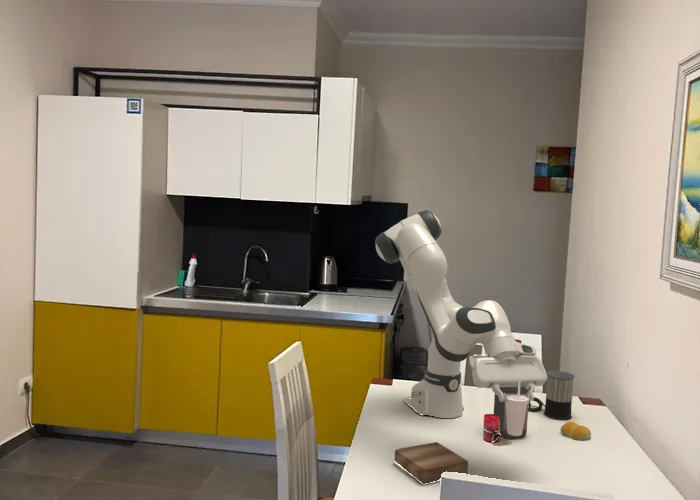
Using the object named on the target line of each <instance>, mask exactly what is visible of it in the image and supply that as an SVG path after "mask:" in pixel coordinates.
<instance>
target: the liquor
mask: <svg viewBox="0 0 700 500" xmlns="http://www.w3.org/2000/svg"><path fill="white" fill-rule="evenodd" d="M514 339H515V341H516V342H519V343H521V344H522V340H520V339H516V338H514ZM499 389H500V390H501V391H502V392H503V393H506V394H518V387H499ZM528 391H529V389H528V390H527V389H526V386H521V387H520V395H524V396H525V395H526V394H527V392H528ZM493 400H494V401H493V402H494V403H493V415H496V416H499V417H500V434H501V436H500V438H502V439H505V440H506V439H507V440H517V439H524V438H525V437H526V435H527V433H528V420H529V419H528V416H529V410H528V405H529V403H528V404H527V409H526V415H525V420H524V425H523V431H522V435H520V436H513V435H510V434H508V433H507V421H506V407H505V402H500V401H499V397H498V396H497V395H496V394H495V393H494V399H493Z"/></svg>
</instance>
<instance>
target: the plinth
mask: <svg viewBox="0 0 700 500" xmlns="http://www.w3.org/2000/svg"><path fill="white" fill-rule="evenodd" d="M394 461H396V462H397V463H398V464H400V465H401V466H402V467H403V468H404V469H406V470H407V471H408V472H409V473H411V474H412V475H413V476H414V477H416V478H417V479H418V480H419V481H421V482H422V483H423V484H425V483H430V482H433V481H437V480H439V479H440V478H441V474H442V473H443V472H446V471H447V472H458V473H466V474H467V475H468V471H469V460H467V459H466V458H464V457H462V456H460V455H459V454H457V453H456V452H454V451H452V450H451V449H449V448H448V447H446V446H444V445H442V444H441V443H440V442H437V441H435V442H429V443H424V444H419V445H418V444H417V445H413V446H408V447H401V448H396V449H394ZM419 481H418V482H419ZM423 484H422V485H423Z"/></svg>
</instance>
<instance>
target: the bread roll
mask: <svg viewBox="0 0 700 500" xmlns="http://www.w3.org/2000/svg"><path fill="white" fill-rule="evenodd" d="M559 431H560V432H561V434H562V435H563V436H564V437H567V438H570V439H573V440H576V441H578V440H579V441H588V440H590V439H591V436H592V432H591V430H590V428H589V427H587V426H585V425H581V424H580V425H579V424H578V423H576V422H574V421H568V422H565V423H564V424H562V425H561V426H560V428H559Z"/></svg>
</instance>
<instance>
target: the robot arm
mask: <svg viewBox="0 0 700 500" xmlns="http://www.w3.org/2000/svg"><path fill="white" fill-rule="evenodd" d="M442 233H443V232H442V225H441V222H440V219H439V218H438V217H437V216H436V215H435V214H434V213H433V212H432V211H431V210H428V209H425V210H422V211H418V212H417V213H416V214H413V215H411V216H408V217H406V218H404V219H402V220H400V221H399V222H397V223H396V224H395V225H394V224H393V226H391V227H390V228H389V229H387V230H385V231H382V232H381V233H380V234H378V236H376V237H375V242H374V243H375V250H376V253H377V255H378V256H379V257H380V259H382V260H383V261H384V262H385V263H387V264H395V263H398V262H400V263H401V266H402V267H403V270H404V272H405V274H406V276H407V278H408V280H409V282H410V283H411V285H412V288H413V289H414V291H415V293H416V295H417V299H418V301H419V304H420V306H421V308H422V311H423V312H424V315H425V317H426V320H427V321H428V324H429V327H430V329H431V331H432V339H431V342H430V345H429V346H428V352H427V353H428V355H427V356H428V357H427V369H422V371H423V372H422V373H423V374H424V376H423V379H421V380H420V381H418V382H417V383H416V384H414V385H413V386H412V387H411V392H410V396H407V397H405V398H404V399H403V401H404V400H405V401H406V402H407V403H408V404H409V405H410V406H412V407H413V408H414V409H415V410H416V411H417V412H418V413H420V414H423V415H429V416H428V417H432V416H434V417H433V418H438V417H439V419H453V418H458V417H459V418H460V417H461V416H462V415H463V411H464V410H465V406H464V405H463V391H462V390H463V389H462V385H461V383H462V373H461V362H463V361H464V360H466V359H467V358H468V356H469V355H470V353H471V351H472V350H473V349H474V348H475V346H476V345H477V344H481V345H482V346H483V349H484V353H482V354H480V353H479V354H477V353H474V354H472V355H471V356H470V357H469V358H468V363H469V366H470V368H471V374H472V381H473V384H474V386H475V387H476V388H477V389H478V388H479V389H481V388H484V389H485V388H491V390H492V392H493V393H494V395H495V394H496V395H497V396H498V397H499V401H500V402H506V400H507V396H506V393H503V392H502V391H501V390H500V389H499V387H518V381H521V383H520V387H521V386H526V389H527V390H528V389H529V391H528V392H527V394H526V395H525V396H526V397H528V398H529V401H530V402H531V401H533V399H534V397H535V396H534V395H535V394H534V389H535V387H542V386H543V385H544V384H545V383H547V376H548V375H547V371H546V368H545V366H544V364H543V362H542V360H541V359H540V358H539V357H538V356H537V355H536V354H537V350H536V348H535V347H534V346H531V345H527V344H524V343H522V342H521V343H519V342H516V341H515V339H516V338H514V336H513V334H512V330H511V329H512V327H511V325H510V322H509V319H508V317H507V314H506V312H505V310H504V308H503V307H502V306H501V305H500V304H499V303H498V302H497V301H495V300H492V299H491V300H482V301H480V302H478V303H476V305H474V306H462V305H461V304H459V303H457V302H456V300H455V299H454V298H453V296H452V294H451V292H450V289H449V286H448V282H447V279H446V277H447V273H448V261H447V257H446V256H445V254H444V251H443V250H442V249H441V247H440V246H439V244H438V243H437V240H439V238H440V237H441V235H442ZM409 398H411V399H409ZM533 402H534V401H533ZM423 415H422V416H423Z"/></svg>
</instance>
